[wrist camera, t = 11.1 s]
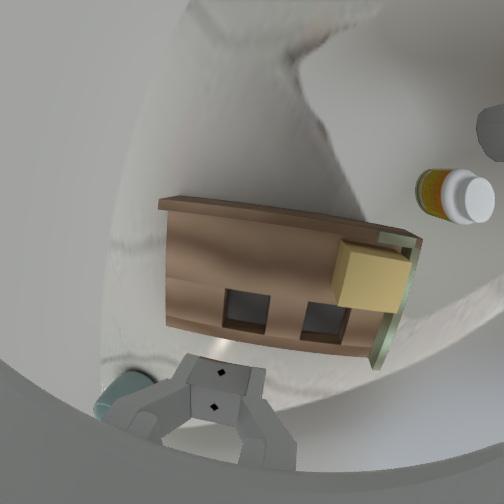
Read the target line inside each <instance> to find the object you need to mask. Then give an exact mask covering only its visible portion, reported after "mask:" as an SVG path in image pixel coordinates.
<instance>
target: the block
mask: <svg viewBox="0 0 504 504" xmlns="http://www.w3.org/2000/svg"><path fill="white" fill-rule="evenodd" d="M411 265H412V262H411V261H409V260H408V259H407V258H406V257H404V256H403V255H402V254H400V253H399V252H398V251H396V250H395V249H393V248H388V247H382V246H377V245H372V244H366V243H361V242H355V241H349V240H344V239H341V240H340V245H339V250H338V255H337V260H336V265H335V269H334V274H333V278H332V282H331V288H332V290H333V293H334V296H335V300H336V303H337V306H340V307H348V308H355V309H363V310H371V311H379V312H388V313H397V311H398V309H399V306H400V302H401V299H402V296H403V293H404V290H405V287H406V283H407V280H408V276H409V273H410V269H411Z"/></svg>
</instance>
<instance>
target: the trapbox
mask: <svg viewBox="0 0 504 504" xmlns="http://www.w3.org/2000/svg"><path fill="white" fill-rule="evenodd" d="M158 209H159V210H168V222H167V243H166V326H169V327H174V328H178V329H182V330H186V331H191V332H195V333H200V334H204V335H209V336H214V337H219V338H224V339H229V340H234V341H240V342H245V343H251V344H257V345H263V346H269V347H276V348H283V349H290V350H297V351H305V352H313V353H322V354H331V355H342V356H353V357H367V358H368V359H369V361H370V364H371V367H372V370H380V369H381V367H382V365H383V362H384V360H385V358H386V355H387V353H388V350H389V348H390V345H391V343H392V340H393V338H394V335H395V332H396V330H397V327H398V324H399V321H400V319H401V316H402V313H403V310H404V307H405V304H406V301H407V297H408V294H409V291H410V288H411V284H412V281H413V277H414V274H415V270H416V266H417V262H418V258H419V254H420V250H421V246H422V241H423V239H422V238H420V237H418V236H416V235H414V234H412V233H410V232H408V231H406V230H404V229H399V228H394V227H388V226H384V225H378V224H373V223H368V222H363V221H357V220H352V219H346V218H340V217H335V216H329V215H323V214H317V213H310V212H304V211H297V210H291V209H284V208H277V207H270V206H263V205H255V204H248V203H240V202H232V201H224V200H215V199H206V198H197V197H187V196H173V197H168V198H163V199H159V202H158ZM341 239H344V240H349V241H355V242H361V243H366V244H372V245H377V246H382V247H388V248H393V249H395V250H396V251H398V252H399V253H400V254H402V255H403V256H404V257H406V258H407V259H408V260H409V261H411V262H412V265H411V269H410V273H409V276H408V280H407V283H406V287H405V290H404V293H403V296H402V299H401V302H400V306H399V309H398V311H397V313H388V312H379V311H371V310H363V309H355V308H348V307H340V306H337V303H336V300H335V296H334V293H333V290H332V288H331V282H332V278H333V274H334V269H335V265H336V260H337V255H338V250H339V245H340V240H341ZM270 298H271V300H270ZM269 304H270V306H269ZM268 310H269V312H268ZM267 317H268V318H267ZM266 323H267V324H266Z"/></svg>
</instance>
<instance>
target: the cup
mask: <svg viewBox="0 0 504 504" xmlns="http://www.w3.org/2000/svg"><path fill="white" fill-rule="evenodd" d="M153 384H154V382H153V381H152V380H151V379H150V378H148V377H147V376H146V375H144V374H142V373H139V372H135V371H129V372H125V373H123V374H122V375H120V376H119V377H118V378H117V379H115V380H114V381H113V382H112V383H111V384H110V385H109V387H108V388H107V389H106V390H105V391H104V392H103V394H102V395H101V396H100V397H99V399H98V400H97V401H96V403H95V405H94V408H93V410H94V414H95V417H96V418H97V419H98V420H100V421H101V420H102V418H103V417H104V416H105V414H106V413H107V411H108V410H109V409H110V407H111V406H112V405H113V403H114V402H115V401H116V399H119V398H121V397H124V396H126V395H129V394H131V393H134V392H136V391H139V390H141V389H144V388H146V387H148V386H151V385H153Z"/></svg>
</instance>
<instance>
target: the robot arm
mask: <svg viewBox="0 0 504 504" xmlns="http://www.w3.org/2000/svg"><path fill="white" fill-rule="evenodd" d="M265 374H266V369H265V368H257V367H249V366H243V365H237V364H232V363H227V362H222V361H218V360H213V359H209V358H205V357H201V356H196V355H192V354H188V353H187V354H186V355H185V356H184V358H183V360H182V361H181V363H180V365H179V366H178V368H177V370H176V372H175V373H174V375H173V377H172V379H168V378H167V379H165V380H162V381H160V382H158V383H155V384H153V385H151V386H148V387H146V388H144V389H141V390H139V391H136V392H134V393H131V394H129V395H126V396H124V397H121V398H119V399H116V401H115V402H114V403H113V405H112V406H111V407H110V409H109V410H108V411H107V413H106V414H105V416H104V417H103V418H102V420H101V421H100V420H98V419H96V418H94V417H92V416H90V415H88V414H86V413H84V412H82V411H80V410H78V409H76V408H74V407H72V406H70V405H69V404H67V403H65V402H63V401H62V400H60V399H58V398H56V397H55V396H53V395H51V394H50V393H48V392H46V391H45V390H43V389H41V388H40V387H38V386H37V385H36V384H34V383H33V382H31V381H30V380H28V379H27V378H25V377H24V376H22V375H21V374H20V373H18V372H17V371H15V370H14V369H13V368H11V367H10V366H9V365H7V364H6V363H5V362H4V361H2V360H1V359H0V504H504V442H502V443H498V444H494V445H492V446H489V447H486V448H483V449H480V450H477V451H474V452H471V453H468V454H464V455H461V456H457V457H453V458H449V459H446V460H441V461H436V462H432V463H427V464H421V465H416V466H410V467H403V468H396V469H387V470H376V471H363V472H302V471H301V472H300V471H296V450H297V443H296V441H295V440H294V439H293V437H292V436H291V434H290V433H289V432H288V430H287V429H286V428H285V426H284V425H283V423H282V422H281V421H280V419H279V418H278V416H277V415H276V414H275V412H274V411H273V409H272V408H271V406H270V405H269V404H268V402H267V401H266V399H262V394H263V387H264V381H265ZM191 417H192V418H196V419H201V420H205V421H210V422H215V423H219V424H224V425H228V426H232V427H236V429H237V431H238V434H239V436H240V438H241V440H242V442H243V445H242V449H241V453H240V458H239V461H238V464H234V463H229V462H224V461H219V460H215V459H210V458H206V457H202V456H198V455H194V454H190V453H187V452H183V451H180V450H176V449H173V448H170V447H166V446H163V444H162V440H161V438H163V437H164V436H166V435H167V434H169V433H170V432H172V431H173V430H175V429H176V428H178V427H179V426H181V425H182V424H184V423H185V422H187V421H188V420H189V419H191Z"/></svg>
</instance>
